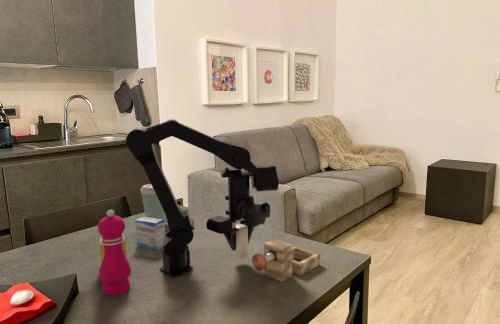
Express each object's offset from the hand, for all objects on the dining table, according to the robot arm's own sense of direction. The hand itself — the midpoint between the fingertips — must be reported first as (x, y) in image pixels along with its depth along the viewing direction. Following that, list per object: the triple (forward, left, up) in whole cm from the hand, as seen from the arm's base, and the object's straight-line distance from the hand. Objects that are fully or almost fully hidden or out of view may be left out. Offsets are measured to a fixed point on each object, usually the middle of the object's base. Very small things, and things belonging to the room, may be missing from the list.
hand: (240, 247), depth 106 cm
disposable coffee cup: (+2, +44, -5) cm, 44 cm away
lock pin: (-1, -12, -1) cm, 12 cm away
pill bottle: (-25, +23, -5) cm, 34 cm away
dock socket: (+7, -12, -5) cm, 15 cm away
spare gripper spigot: (0, 0, -2) cm, 2 cm away
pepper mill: (-30, +12, -5) cm, 33 cm away
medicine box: (-10, +29, -5) cm, 31 cm away
